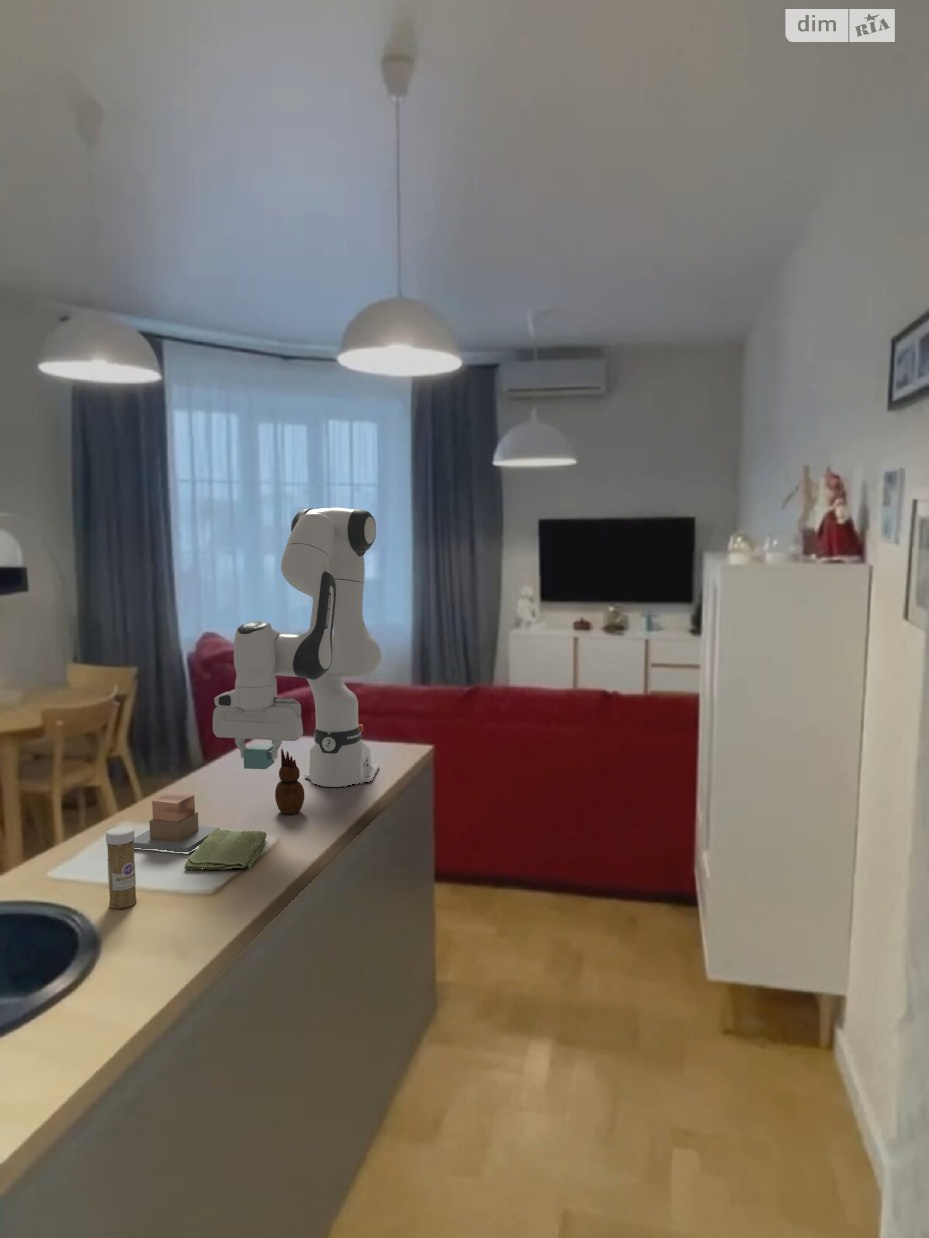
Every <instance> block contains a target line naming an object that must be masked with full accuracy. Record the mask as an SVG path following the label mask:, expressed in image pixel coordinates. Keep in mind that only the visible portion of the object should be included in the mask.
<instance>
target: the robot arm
mask: <svg viewBox="0 0 929 1238" xmlns="http://www.w3.org/2000/svg"><path fill="white" fill-rule="evenodd" d="M290 525H291V526H290V532H291V533H290V535H289V537H288V540H287V542H286V545H285V549H284V552H283V555H282V558H281V565H280V569H281V572H282V573H281V574H282V576H283V578H284V579H285V581H286V582H287V583H288V584H289V585H290V586H291V587H292V588H294V589H295V590H297V591H298V592H300V593H303V594H305V595H307V596H309V597H311V599H312V606H311V613H310V621H309V622H310V624H309V629H308V630H307V631H306V632H305V633H301V634H300V633H285V632H280V631H277V630H275V629H274V628H273V627H272V625H271V623H269V622H267V621H262V620H261V621H260V620H259V621H258V620H257V621H256V620H255V621H252V622H251V621H250V622H245V623H243V624H241V625H239V626H238V627H237V628H236V631H235V634H234V639H233V641H234V642H233V665H234V669H235V672H236V678H235V681H234V688H233V689H230V690H228V691H225V692H223V693H220V694H219V695H217V696H216V695H215V697H214V705H215V706H216V707H215V708H214V709H213V712H212V713H213V714H212V732H213V734H214V735H215V737H217V738H227V739H234V743H235V745H236V746H237V748H238V750H239V751H240V758H241V759H244V756H243V751H244V750H245V749H247V748H248V747H247V745H246V743H245V741H246V740H260V741H261V740H263V741H264V740H265V741H271V745H274V747H273V749H272V750H270V751H269V752H268V759H270V760H274V761H276V760H277V759H278V751H279V749H280V746H281V745H282V743H283V741H285V742H296V741H298V740H300V739H301V738H302V736H303V734H304V729H303V728H304V727H303V726H304V725H303V720H302V705H301V703H300V702H299V701H298V700H296V699H295V698H293V697H288V698H287V697H278V685H277V684H278V683H277V682H278V681H277V678H276V676H280V677H281V676H282V677H297V678H301V679H306V681H307V683H308V685H309V687H310V689H311V691H312V692H311V693H312V696H313V700H314V708H315V710H314V711H315V728H314V733H313V737H314V745H313V746H312V747H310V750H309V768H308V772H306V773H305V774H304V778H305V777H307V778H308V779H307V780H309V779H310V780H311V781H310V780H309V781H310V782H311V783H312V784H314V785H315V784H317V785H316V786H319V785H320V786H321V787H327V788H328V787H330V788H341V787H342V786H343V787H349V786H348V785H351V786H353V785H352V784H355V785H359V783H360V784H365V783H364V782H369V783H371V782H370V781H372V780H374V779H373V777H374V775H375V773H376V771H377V770H378V771H379V769H378V767H379V768H380V764H379V763H376V762H372V757H371V756H372V755H371V748H370V747H369V746H367V744H366V743H365V742H364V741H363V740H362V739H363V738H362V732H364V724H363V723H360V724H359V700H358V698H357V695H356V694H355V693H354V692H353V691H352V690H350V689H349V687H347V686H346V683H345V682H344V680H343V678H344V677H345V678H362V677H363V678H364V677H368V676H373V674H375V673H376V672H377V670H378V669H379V667H380V665H381V663H382V652H381V648H380V646H379V644H378V642H377V640H375V639H374V638H373V637H372V636H371V634H370V633H369V631H368V629H367V626H366V624H365V623H366V622H365V620H364V615H363V613H364V612H363V611H364V610H363V603H364V586H365V578H366V577H365V575H366V574H365V573H366V572H365V570H366V569H365V554H366V552H367V551H368V550H369V549H370V548H371V547H372V546H373V544H374V542H375V540H376V535H377V525H376V520H375V517H374V516H373V515H372V513H371V512H370V511H367V510H364V509H360V508H354V509H353V508H347V507H345V508H344V507H331V508H329V507H325V508H323V507H322V508H304V509H302V510H299V511H298V512H297V513H296V514H295V515H294V517H293V518H292V520H291V524H290ZM378 771H377V772H378ZM376 774H377V773H376ZM375 776H376V775H375ZM374 778H375V777H374ZM372 782H373V781H372ZM320 786H319V787H320Z"/></svg>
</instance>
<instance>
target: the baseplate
mask: <svg viewBox="0 0 929 1238" xmlns="http://www.w3.org/2000/svg"><path fill="white" fill-rule="evenodd" d="M148 823H149V829H148V830H147V831H145V832H143V833H141V834H139V835H138V836H136V837H135V838H134V842H133V843H134V848H141V849H158V850H167V851H174V852H190V851H192V850H193V849H195V848H196V847H197V846H199V845H201V844H202V843H203V841H204V840H205V839H206V838H207V837H208V835H209V833H210V832H211V831H212V830H215V829H216V830H220V827H216V826H215V827H214V826H205V825H199V812H198V811H195V813H194V814H192V815H190V816H188V817H187V818H185V819H183V820H181V821H179V822H171V821H162V820H153V818H151V819H149V822H148Z"/></svg>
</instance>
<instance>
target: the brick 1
mask: <svg viewBox="0 0 929 1238" xmlns="http://www.w3.org/2000/svg"><path fill="white" fill-rule="evenodd" d="M151 802H152V803H151V804H152V805H151V807H152V819H153V820H162V821H171V822H179V821H181V820H183V819H185V818H187V817H188V816H190V815H192V814H194V813H195V812H196V808H195V807H196V805H195V803H196V802H195V794H189V793H188V794H187V793H180V792H179V793H178V792H168V793H166V794H164V795H162V796H160V797H158V798H155V799H153V800H152V801H151Z"/></svg>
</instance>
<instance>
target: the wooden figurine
mask: <svg viewBox="0 0 929 1238" xmlns="http://www.w3.org/2000/svg"><path fill="white" fill-rule="evenodd" d="M280 753H281V754H280V757H281V759H280V762H281V764H280V765H281V766H280V768H279V771H278V777H279V779H280V781H279V782H278V783H277V784H276V786H275V791H274V796H275V797H274V798H275V803H276V806H277V808H278V810H279V811H280V812H281V813H282V814H284V815H295V814H298V813H299V812H301V810H302V807H303V804H304V802H305V789H304V785H303V784H302V783H301V782H300V781H299V778H300V773H301V772H300V769H299V766H297V762H296V759H293V756H292V755H291V756H290V753H289V751H286V755H285V752H284V749H283V748H281V750H280Z"/></svg>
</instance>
